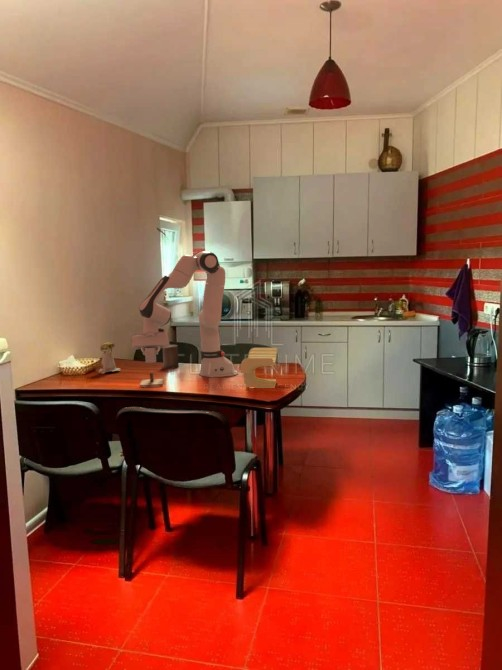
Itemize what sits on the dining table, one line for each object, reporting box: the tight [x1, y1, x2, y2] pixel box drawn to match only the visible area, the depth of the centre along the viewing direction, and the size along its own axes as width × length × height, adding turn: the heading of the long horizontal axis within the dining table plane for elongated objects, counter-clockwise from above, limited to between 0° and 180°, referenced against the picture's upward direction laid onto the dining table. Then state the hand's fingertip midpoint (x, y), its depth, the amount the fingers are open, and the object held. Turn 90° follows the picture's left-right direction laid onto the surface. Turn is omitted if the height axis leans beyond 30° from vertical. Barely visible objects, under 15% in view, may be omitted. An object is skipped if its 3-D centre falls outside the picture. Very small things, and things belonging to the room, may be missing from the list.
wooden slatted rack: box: [240, 347, 278, 389], centre depth 271 cm, size 30×16×18 cm, turn 172°
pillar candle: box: [161, 344, 180, 369], centre depth 323 cm, size 10×10×15 cm
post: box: [139, 372, 165, 388], centre depth 279 cm, size 12×12×6 cm
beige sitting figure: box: [98, 341, 121, 375], centre depth 312 cm, size 12×13×18 cm
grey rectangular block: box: [144, 346, 157, 364], centre depth 277 cm, size 5×5×8 cm
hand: (150, 354), depth 277 cm, fingers closed on grey rectangular block, 5 cm apart
